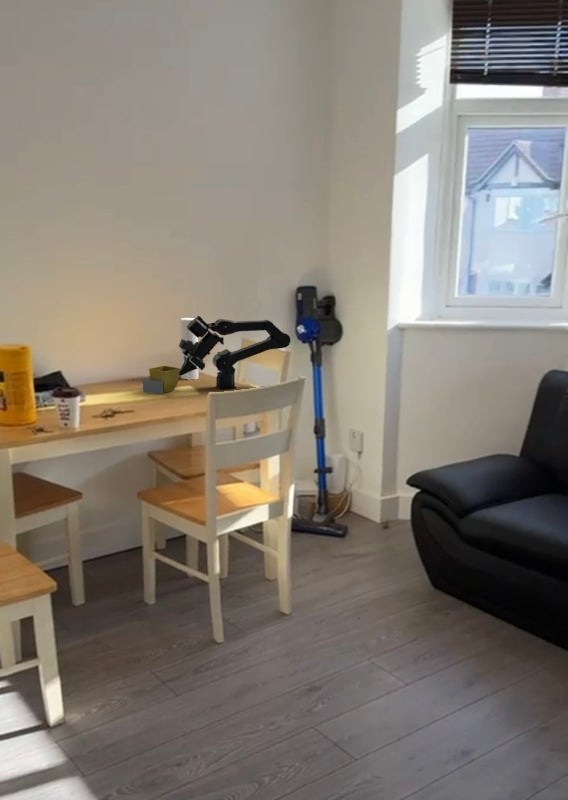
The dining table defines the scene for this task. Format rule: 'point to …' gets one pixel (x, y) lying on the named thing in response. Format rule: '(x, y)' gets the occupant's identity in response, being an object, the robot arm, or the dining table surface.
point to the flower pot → (165, 376)
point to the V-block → (152, 386)
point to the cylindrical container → (185, 336)
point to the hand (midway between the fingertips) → (179, 375)
